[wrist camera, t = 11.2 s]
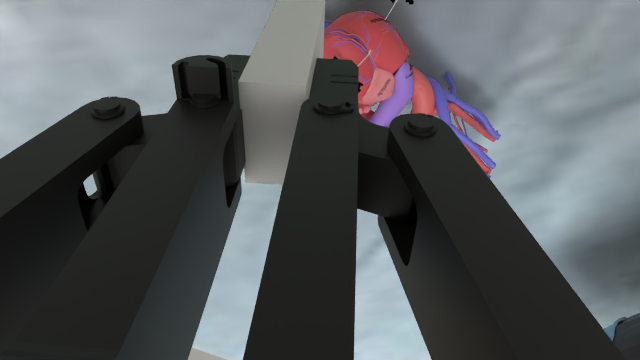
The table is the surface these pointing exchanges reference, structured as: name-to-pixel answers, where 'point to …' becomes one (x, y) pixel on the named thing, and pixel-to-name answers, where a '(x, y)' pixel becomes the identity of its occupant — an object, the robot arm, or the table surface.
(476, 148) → the heart model
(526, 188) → the table surface
